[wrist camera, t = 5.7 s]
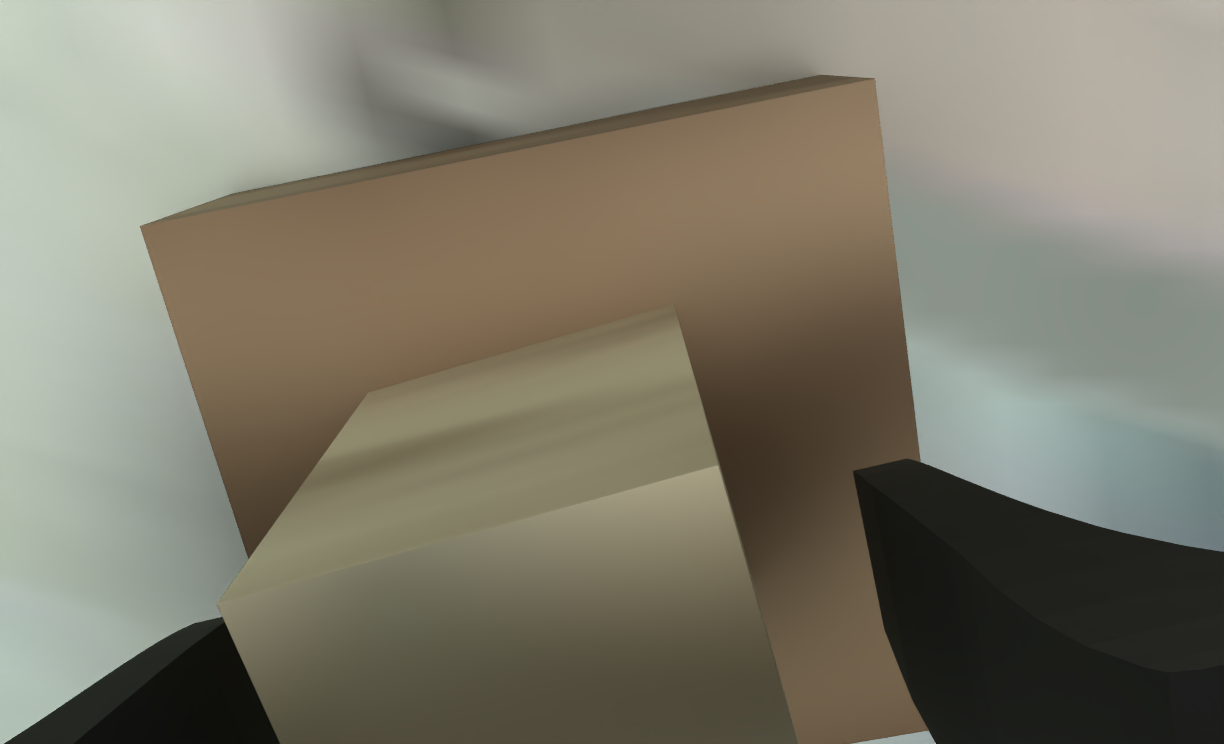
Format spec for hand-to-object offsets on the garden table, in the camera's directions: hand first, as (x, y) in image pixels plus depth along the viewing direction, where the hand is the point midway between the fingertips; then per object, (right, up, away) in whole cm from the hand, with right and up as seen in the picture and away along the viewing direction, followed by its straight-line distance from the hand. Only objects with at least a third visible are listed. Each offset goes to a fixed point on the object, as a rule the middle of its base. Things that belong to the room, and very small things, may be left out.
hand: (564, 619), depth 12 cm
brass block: (0, +1, +3) cm, 4 cm away
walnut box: (0, +2, +7) cm, 8 cm away
